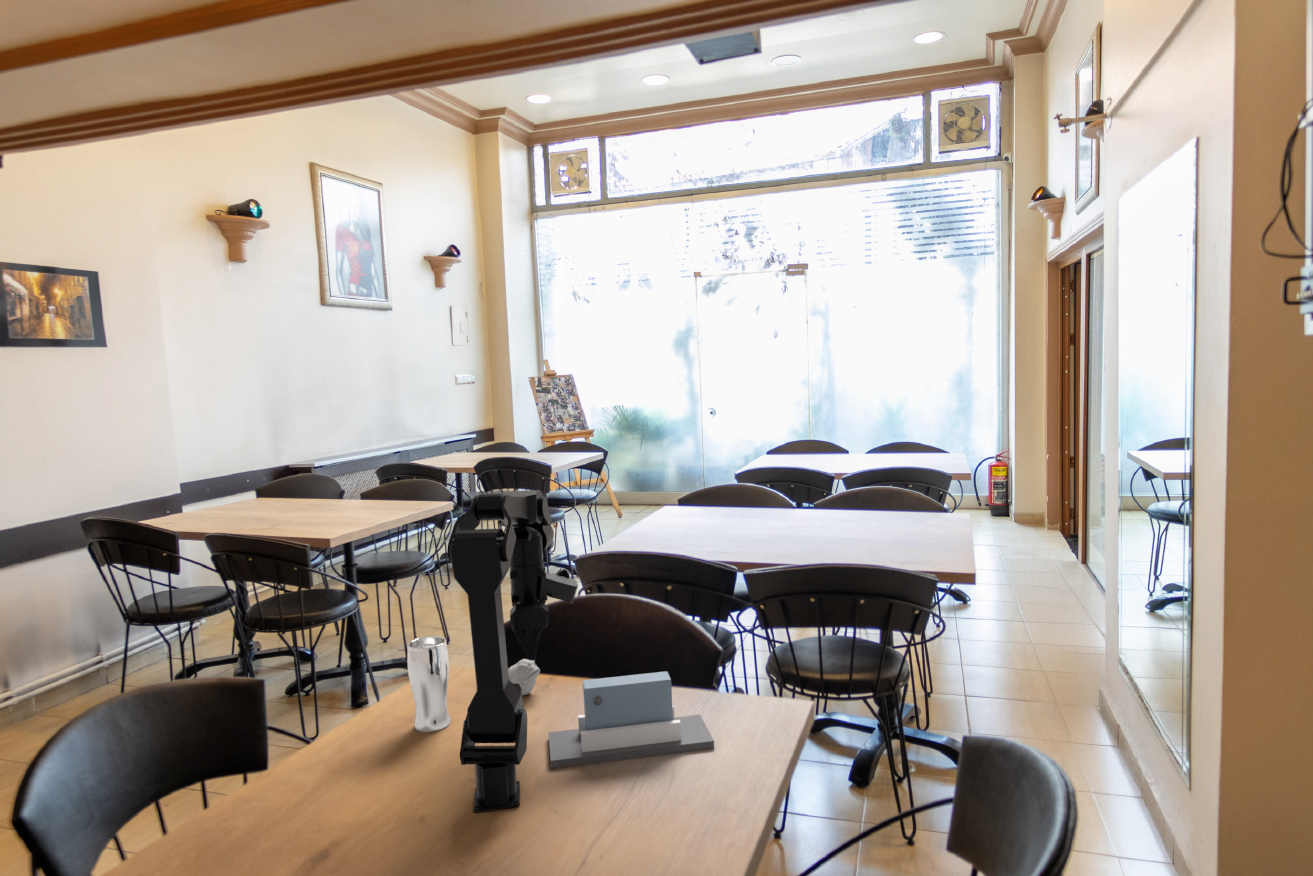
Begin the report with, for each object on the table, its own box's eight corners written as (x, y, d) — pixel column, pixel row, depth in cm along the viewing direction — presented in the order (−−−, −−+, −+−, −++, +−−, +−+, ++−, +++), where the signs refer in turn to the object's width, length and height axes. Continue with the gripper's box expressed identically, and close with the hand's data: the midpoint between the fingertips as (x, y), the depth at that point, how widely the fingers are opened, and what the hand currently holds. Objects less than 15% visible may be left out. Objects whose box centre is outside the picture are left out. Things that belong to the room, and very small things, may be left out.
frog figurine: (527, 704, 149) (525, 667, 148) (499, 697, 152) (497, 661, 152) (548, 692, 154) (546, 656, 153) (520, 685, 158) (518, 651, 157)
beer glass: (441, 734, 138) (435, 649, 136) (404, 732, 139) (398, 648, 138) (459, 717, 144) (454, 636, 143) (424, 715, 146) (418, 635, 144)
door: (674, 738, 130) (671, 680, 129) (588, 748, 128) (584, 690, 127) (669, 726, 134) (667, 671, 133) (585, 736, 132) (582, 680, 131)
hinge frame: (714, 748, 129) (713, 722, 128) (551, 768, 124) (549, 742, 124) (700, 721, 138) (699, 697, 138) (548, 739, 134) (547, 715, 134)
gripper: (577, 572, 130) (582, 665, 132) (570, 547, 149) (574, 629, 150) (507, 578, 128) (513, 672, 130) (509, 552, 147) (514, 635, 148)
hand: (531, 650), depth 140 cm, fingers open, 9 cm apart
